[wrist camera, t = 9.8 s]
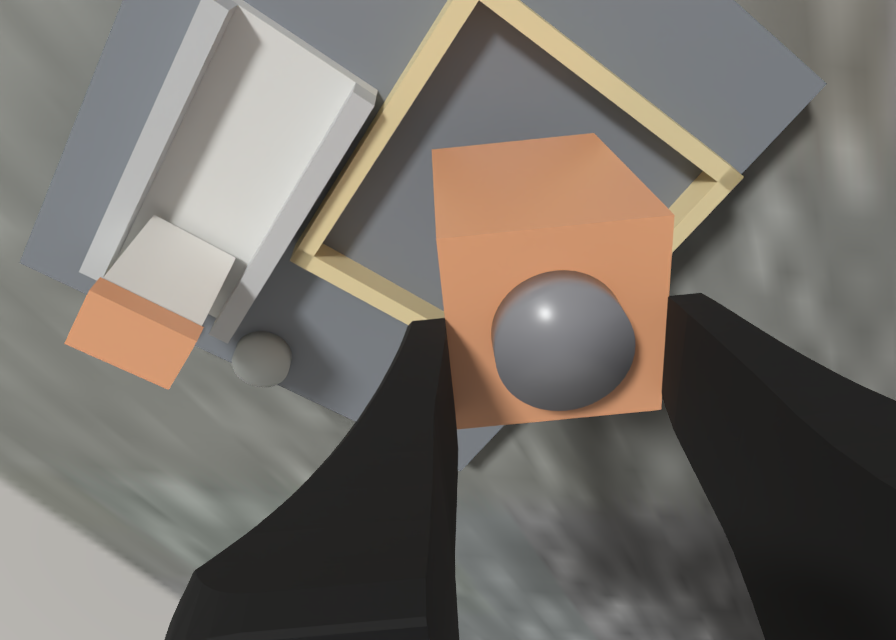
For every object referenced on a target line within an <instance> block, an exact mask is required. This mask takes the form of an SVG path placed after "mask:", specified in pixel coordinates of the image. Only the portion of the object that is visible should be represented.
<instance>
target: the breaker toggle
mask: <svg viewBox="0 0 896 640" xmlns="http://www.w3.org/2000/svg"><path fill="white" fill-rule="evenodd" d="M234 260H235V257H233V256H231V255H230V254H228V253H226V252H224V251H222V250H220V249H218V248H216V247H214V246H213V245H211V244H209V243H207V242H205V241H203V240H201V239H199V238H197V237H195V236H194V235H192V234H190V233H188V232H186V231H184V230H182V229H180V228H178V227H177V226H175V225H173V224H171V223H169V222H167V221H165V220H163V219H161V218H160V217H158V216H156V215H153V216H152V218H151V219H150V220H149V221H148V223H147V224H146V225H145V226H144V228H143V229H142V230H141V231H140V233H139V234H138V235H137V236H136V238H135V239H134V240H133V241H132V242H131V244H130V245H129V246H128V247H127V249H126V250H125V251H124V252H123V254H122V255H121V256H120V257H119V259H118V260H117V261H116V262H115V263H114V265H113V266H112V267H111V268H110V270H109V271H108V272H107V273H106V275H105V276H104V277H103V278H101V277H100V278H99V279H98V280H97V281H96V283H95V284H94V285H93V286H92V287H91V289H90V290H89V292H88V294H87V296H86V298H85V300H84V302H83V305H82V307H81V309H80V311H79V313H78V315H77V317H76V320H75V322H74V324H73V326H72V328H71V330H70V333H69V335H68V337H67V339H66V341H65V343H64V344H66V345H69V346H71V347H73V348H75V349H78V350H80V351H82V352H84V353H87V354H89V355H91V356H93V357H96V358H98V359H100V360H102V361H105V362H107V363H109V364H112V365H114V366H116V367H118V368H121V369H123V370H125V371H127V372H130V373H132V374H134V375H136V376H139V377H141V378H143V379H145V380H148V381H150V382H152V383H154V384H157V385H159V386H161V387H163V388H166V389H168V390H169V388H170V387H171V385H172V383H173V381H174V380H175V378H176V376H177V375H178V373H179V371H180V370H181V368H182V366H183V364H184V363H185V361H186V359H187V358H188V356H189V354H190V352H191V351H192V349H193V347H194V346H195V344H196V342H197V340H198V338H199V336H200V334H201V332H202V330H203V328H204V327H202V325H203V323H204V321H205V319H206V317H207V315H208V313H209V311H210V309H211V307H212V305H213V303H214V301H215V299H216V297H217V295H218V293H219V291H220V289H221V287H222V285H223V283H224V281H225V279H226V277H227V275H228V273H229V271H230V269H231V267H232V264H233V262H234Z"/></svg>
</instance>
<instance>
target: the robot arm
mask: <svg viewBox="0 0 896 640" xmlns="http://www.w3.org/2000/svg"><path fill="white" fill-rule="evenodd" d="M662 396H663V399H664V403H665V406H666V409H667V412H668V415H669V418H670V420H671V423H672V426H673V429H674V431H675V433H676V435H677V438H678V440H679V442H680V444H681V446H682V448H683V450H684V452H685V454H686V456H687V458H688V460H689V462H690V464H691V466H692V468H693V470H694V472H695V474H696V476H697V478H698V480H699V482H700V484H701V486H702V488H703V490H704V492H705V494H706V496H707V498H708V500H709V502H710V504H711V506H712V507H713V509H714V511H715V513H716V515H717V517H718V519H719V521H720V523H721V525H722V527H723V529H724V532H725V534H726V536H727V538H728V541H729V543H730V545H731V547H732V549H733V552H734V554H735V557H736V560H737V562H738V565H739V568H740V570H741V573H742V576H743V578H744V581H745V584H746V586H747V589H748V592H749V594H750V597H751V600H752V603H753V605H754V608H755V611H756V614H757V617H758V620H759V623H760V625H761V628H762V631H763V634H764V637H765V640H896V401H895V400H893V399H890V398H888V397H886V396H884V395H881V394H879V393H877V392H875V391H872V390H870V389H868V388H866V387H863V386H861V385H859V384H857V383H855V382H853V381H851V380H849V379H847V378H845V377H843V376H841V375H839V374H837V373H835V372H833V371H832V370H830V369H828V368H826V367H824V366H822V365H820V364H819V363H817V362H815V361H813V360H811V359H809V358H807V357H806V356H804V355H802V354H801V353H799V352H797V351H795V350H794V349H792V348H790V347H788V346H787V345H785V344H783V343H782V342H780V341H778V340H777V339H775V338H773V337H772V336H770V335H769V334H767V333H765V332H764V331H762V330H760V329H759V328H757V327H756V326H754V325H753V324H751V323H749V322H748V321H746V320H745V319H743V318H741V317H740V316H738V315H737V314H735V313H734V312H732V311H730V310H729V309H727V308H726V307H724V306H722V305H721V304H719V303H718V302H716V301H714V300H713V299H711V298H709V297H707V296H705V295H704V294H702V293H696V294H686V295H675V296H669V297H668V303H667V318H666V333H665V348H664V363H663V378H662ZM457 479H458V438H457V425H456V413H455V404H454V395H453V386H452V377H451V368H450V358H449V349H448V340H447V331H446V322H445V318H438V319H428V320H417V321H412V322H411V323H410V324H409V325H408V326H407V329H406V332H405V335H404V337H403V340H402V342H401V344H400V347H399V349H398V351H397V353H396V355H395V357H394V359H393V361H392V363H391V365H390V367H389V369H388V371H387V373H386V374H385V376H384V378H383V380H382V382H381V383H380V385H379V387H378V389H377V390H376V392H375V394H374V395H373V397H372V398H371V400H370V401H369V403H368V404H367V406H366V408H365V409H364V411H363V412H362V414H361V415H360V417H359V418H358V420H357V421H356V423H355V424H354V425H353V427H352V428H351V429H350V431H349V432H348V433H347V435H346V436H345V437H344V439H343V440H342V441H341V442H340V444H339V445H338V446H337V447H336V449H335V450H334V451H333V452H332V453H331V455H330V456H329V457H328V458H327V459H326V460H325V461H324V462H323V464H322V465H321V466H320V467H319V468H318V469H317V470H316V471H315V472H314V473H313V474H312V476H311V477H310V478H309V479H308V480H307V481H306V482H305V483H304V484H303V485H302V486H301V487H300V488H299V489H298V490H297V491H296V492H295V493H294V494H293V495H292V496H291V497H290V498H288V499H287V500H286V501H285V502H284V503H283V504H282V505H281V506H279V507H278V508H277V509H276V510H275V511H274V512H273V513H271V514H270V515H269V516H268V517H267V518H265V519H264V520H263V521H262V522H261V523H259V524H258V525H257V526H256V527H254V528H253V529H252V530H251V531H249V532H248V533H247V534H246V535H244V536H243V537H241V538H240V539H239V540H237V541H236V542H234V543H233V544H232V545H230V546H229V547H227V548H226V549H225V550H223V551H222V552H221V553H219V554H218V555H216V556H215V557H214V558H212V559H211V560H209V561H208V562H207V563H205V564H204V565H202V566H201V567H199V568H198V569H196V570H195V571H194V572H193V574H192V577H191V579H190V581H189V583H188V585H187V587H186V590H185V592H184V594H183V596H182V597H181V599H180V601H179V604H178V606H177V608H176V611H175V613H174V615H173V617H172V620H171V622H170V625H169V628H168V631H167V634H166V637H165V640H459V629H458V613H457V597H456V581H455V537H456V508H457Z"/></svg>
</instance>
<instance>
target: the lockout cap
mask: <svg viewBox="0 0 896 640" xmlns="http://www.w3.org/2000/svg"><path fill="white" fill-rule="evenodd" d="M432 167H433V187H434V206H435V226H436V242H437V251H438V260H439V270H440V279H441V288H442V297H443V306H444V316H445V322H446V331H447V340H448V349H449V358H450V368H451V377H452V386H453V395H454V404H455V413H456V425H457V429H468V428H478V427H488V426H499V425H509V424H519V423H530V422H540V421H550V420H561V419H571V418H581V417H592V416H602V415H613V414H623V413H633V412H644V411H654V410H661V405H662V378H663V363H664V348H665V333H666V318H667V303H668V297H669V288H670V274H671V259H672V245H673V230H674V216H675V215H674V214H673V213H672V212H671V211H670V210H669V209H668V208H667V207H666V206H665V205H664V204H663V203H662V202H661V201H660V200H659V199H658V198H657V197H656V196H655V195H654V194H653V193H652V192H651V190H650V189H649V188H648V187H647V186H646V185H645V184H644V183H643V182H642V181H641V180H640V179H639V178H638V177H637V176H636V175H635V174H634V173H633V172H632V171H631V170H630V169H629V168H628V167H627V166H626V165H625V164H624V163H623V162H622V161H621V160H620V159H619V158H618V157H617V156H616V155H615V154H614V153H613V152H612V151H611V150H610V149H609V148H608V147H607V146H606V145H605V144H604V143H603V142H602V141H601V140H600V139H599V138H598V137H597V136H596V135H595V134H594V133H588V134H579V135H569V136H559V137H549V138H540V139H530V140H520V141H510V142H501V143H491V144H481V145H471V146H462V147H452V148H442V149H432Z"/></svg>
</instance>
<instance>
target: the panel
mask: <svg viewBox="0 0 896 640" xmlns="http://www.w3.org/2000/svg"><path fill="white" fill-rule="evenodd" d="M826 84H827V83H825V82H824V81H823V80H822V79H821V78H820V77H819V76H818V75H817V74H815V73H814V72H813V71H812V70H811V69H810V68H809V67H808V66H807V65H805V64H804V63H803V62H802V61H801V60H800V59H799V58H798V57H797V56H795V55H794V54H793V53H792V52H791V51H790V50H789V49H788V48H787V47H785V46H784V45H783V44H782V43H781V42H780V41H779V40H778V39H777V38H775V37H774V36H773V35H772V34H771V33H770V32H769V31H768V30H767V29H765V28H764V27H763V26H762V25H761V24H760V23H759V22H758V21H757V20H755V19H754V18H753V17H752V16H751V15H750V14H749V13H748V12H747V11H745V10H744V9H743V8H742V7H741V6H740V5H739V4H738V3H737V2H735V1H734V0H123V1H122V4H121V6H120V9H119V11H118V14H117V16H116V19H115V21H114V24H113V26H112V29H111V31H110V34H109V37H108V39H107V42H106V44H105V47H104V49H103V52H102V54H101V57H100V59H99V62H98V64H97V67H96V70H95V72H94V75H93V77H92V80H91V82H90V85H89V87H88V90H87V92H86V95H85V97H84V100H83V103H82V105H81V108H80V110H79V113H78V115H77V118H76V120H75V123H74V125H73V128H72V131H71V133H70V136H69V138H68V141H67V143H66V146H65V148H64V151H63V153H62V156H61V158H60V161H59V164H58V166H57V169H56V171H55V174H54V176H53V179H52V181H51V184H50V186H49V189H48V191H47V194H46V197H45V199H44V202H43V204H42V207H41V209H40V212H39V214H38V217H37V219H36V222H35V224H34V227H33V230H32V232H31V235H30V237H29V240H28V242H27V245H26V247H25V250H24V252H23V255H22V257H21V260H20V263H21V264H23V265H25V266H27V267H29V268H32V269H34V270H36V271H38V272H40V273H42V274H44V275H46V276H48V277H51V278H53V279H55V280H57V281H59V282H61V283H63V284H65V285H68V286H70V287H72V288H74V289H76V290H78V291H80V292H82V293H84V294H88V292H89V290H90V289H91V287H92V286H93V285H94V284H95V283H96V281H97V280H98V279H99V278H100V277H101V278H103V277H104V276H105V275H106V273H107V272H108V271H109V270H110V268H111V267H112V266H113V265H114V263H115V262H116V261H117V260H118V259H119V257H120V256H121V255H122V254H123V252H124V251H125V250H126V249H127V247H128V246H129V245H130V244H131V242H132V241H133V240H134V239H135V238H136V236H137V235H138V234H139V233H140V231H141V230H142V229H143V228H144V226H145V225H146V224H147V223H148V221H149V220H150V219H151V218H152V216H153V215H156V216H158V217H160V218H161V219H163V220H165V221H167V222H169V223H171V224H173V225H175V226H177V227H178V228H180V229H182V230H184V231H186V232H188V233H190V234H192V235H194V236H195V237H197V238H199V239H201V240H203V241H205V242H207V243H209V244H211V245H213V246H214V247H216V248H218V249H220V250H222V251H224V252H226V253H228V254H230V255H231V256H233V257H235V260H234V262H233V264H232V267H231V269H230V271H229V273H228V275H227V277H226V279H225V281H224V283H223V285H222V287H221V289H220V291H219V293H218V295H217V297H216V299H215V301H214V303H213V305H212V307H211V309H210V311H209V313H208V315H207V317H206V319H205V321H204V323H203V325H202V327H204V328H203V330H202V332H201V334H200V336H199V338H198V340H197V342H196V344H195V346H197V347H199V348H201V349H203V350H205V351H207V352H209V353H212V354H214V355H216V356H218V357H220V358H222V359H224V360H226V361H228V362H231V363H232V367H233V370H234V372H235V373H236V375H237V376H238V377H239V378H240V379H241V380H243V381H244V382H246V383H248V384H250V385H253V386H256V387H271V386H275V385H279V386H281V387H283V388H286V389H288V390H290V391H292V392H294V393H296V394H298V395H300V396H303V397H305V398H307V399H309V400H311V401H313V402H315V403H317V404H319V405H322V406H324V407H326V408H328V409H330V410H332V411H334V412H336V413H339V414H341V415H343V416H345V417H347V418H349V419H351V420H353V421H355V422H356V421H357V420H358V418H359V417H360V415H361V414H362V412H363V411H364V409H365V408H366V406H367V404H368V403H369V401H370V400H371V398H372V397H373V395H374V394H375V392H376V390H377V389H378V387H379V385H380V383H381V382H382V380H383V378H384V376H385V374H386V373H387V371H388V369H389V367H390V365H391V363H392V361H393V359H394V357H395V355H396V353H397V351H398V349H399V347H400V344H401V342H402V340H403V337H404V335H405V332H406V329H407V326H408V325H409V324H410V323H411V322H412V321H417V320H428V319H438V318H445V316H444V306H443V297H442V288H441V279H440V270H439V260H438V251H437V242H436V226H435V206H434V187H433V167H432V149H442V148H452V147H462V146H471V145H481V144H491V143H501V142H510V141H520V140H530V139H540V138H549V137H559V136H569V135H579V134H588V133H594V134H595V135H596V136H597V137H598V138H599V139H600V140H601V141H602V142H603V143H604V144H605V145H606V146H607V147H608V148H609V149H610V150H611V151H612V152H613V153H614V154H615V155H616V156H617V157H618V158H619V159H620V160H621V161H622V162H623V163H624V164H625V165H626V166H627V167H628V168H629V169H630V170H631V171H632V172H633V173H634V174H635V175H636V176H637V177H638V178H639V179H640V180H641V181H642V182H643V183H644V184H645V185H646V186H647V187H648V188H649V189H650V190H651V192H652V193H653V194H654V195H655V196H656V197H657V198H658V199H659V200H660V201H661V202H662V203H663V204H664V205H665V206H666V207H667V208H668V209H669V210H670V211H671V212H672V213H673V214H674V215H675V216H674V230H673V245H672V253H673V251H674V250H675V249H676V248H677V247H678V246H679V245H680V244H681V243H682V242H683V241H684V240H685V239H686V238H687V237H688V236H689V235H690V234H691V232H692V231H693V230H694V229H695V228H696V227H697V226H698V225H699V224H700V223H701V222H702V221H703V220H704V219H705V218H706V217H707V216H708V215H709V214H710V212H711V211H712V210H713V209H714V208H715V207H716V206H717V205H718V204H719V203H720V202H721V201H722V200H723V199H724V198H725V197H726V196H727V195H728V194H729V192H730V191H731V190H732V189H733V188H734V187H735V186H736V185H737V184H738V183H739V182H740V181H741V180H742V179H743V178H744V176H742V175H741V174H742V173H743V172H744V171H745V170H746V169H747V168H748V167H749V166H750V165H751V164H752V162H753V161H754V160H755V159H756V158H757V157H758V156H759V155H760V154H761V153H762V152H763V151H764V150H765V149H766V148H767V147H768V146H769V144H770V143H771V142H772V141H773V140H774V139H775V138H776V137H777V136H778V135H779V134H780V133H781V132H782V131H783V130H784V129H785V128H786V126H787V125H788V124H789V123H790V122H791V121H792V120H793V119H794V118H795V117H796V116H797V115H798V114H799V113H800V112H801V111H802V110H803V109H804V107H805V106H806V105H807V104H808V103H809V102H810V101H811V100H812V99H813V98H814V97H815V96H816V95H817V94H818V93H819V92H820V91H821V89H822V88H823V87H824V86H825V85H826ZM503 426H504V425H499V426H488V427H478V428H468V429H457V438H458V470H459V471H461V470H462V469H463V468H464V467H465V466H466V465H467V464H468V463H469V462H470V461H471V460H472V459H473V458H474V457H475V455H476V454H477V453H478V452H479V451H480V450H481V449H482V448H483V447H484V446H485V445H486V444H487V443H488V442H489V441H490V440H491V439H492V438H493V436H494V435H495V434H496V433H497V432H498V431H499V430H500V429H501V428H502V427H503Z"/></svg>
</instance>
